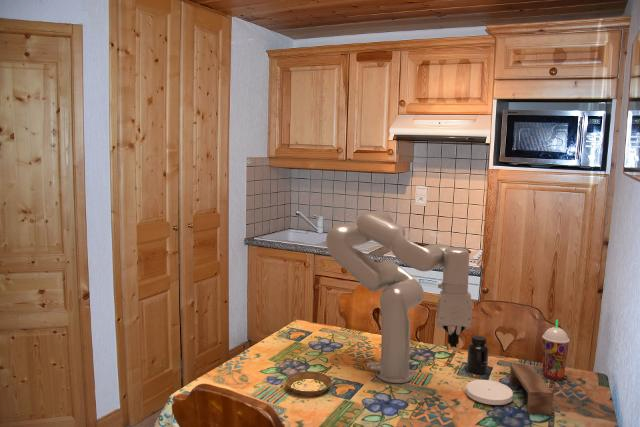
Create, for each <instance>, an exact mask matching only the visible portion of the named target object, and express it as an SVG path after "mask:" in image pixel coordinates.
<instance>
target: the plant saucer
mask: <svg viewBox="0 0 640 427" xmlns="http://www.w3.org/2000/svg"><path fill="white" fill-rule="evenodd" d="M303 379H314V380H318V381H321V382H323V383H324V384H325V385H326V388H325V389H322V390H318V391H300V390H296V389H294V388H291V385H292V384H293V383H294V382H296V381H299V380H303ZM285 384H286V385H287V387H288V389H290V390H291V391H293V393H295V394H297V395H299V394H301V395H300V396H304V395H314V396H319V395H321V394H323V393H325V392H326V391H327V390H328V389H329V388H330V387H331V386H332V384H333V380H332V378H331V377H330V376H328V375H327V374H326V373H325V374H324V373H322V372H316V371H299V372H295V373H293V374H290V375H289V376H287V378H285ZM318 394H319V395H318Z"/></svg>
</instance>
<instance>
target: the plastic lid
mask: <svg viewBox="0 0 640 427" xmlns="http://www.w3.org/2000/svg"><path fill="white" fill-rule="evenodd" d="M465 393H466V395H467V396H468V397H469V398H470V399H472V400H474V401H476V402H479V403H480V404H481V403H482V404H485V405H493V406H503V405H507V404H509V403H511V402H512V401H513V399H514V397H513V396H514V392H513V390H512V389H511V387H509V386H508V385H506V384H504V383H502V382H498V381H494V380H490V379H474V380H471V381H469V382H468V383H467V384H466V385H465Z"/></svg>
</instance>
